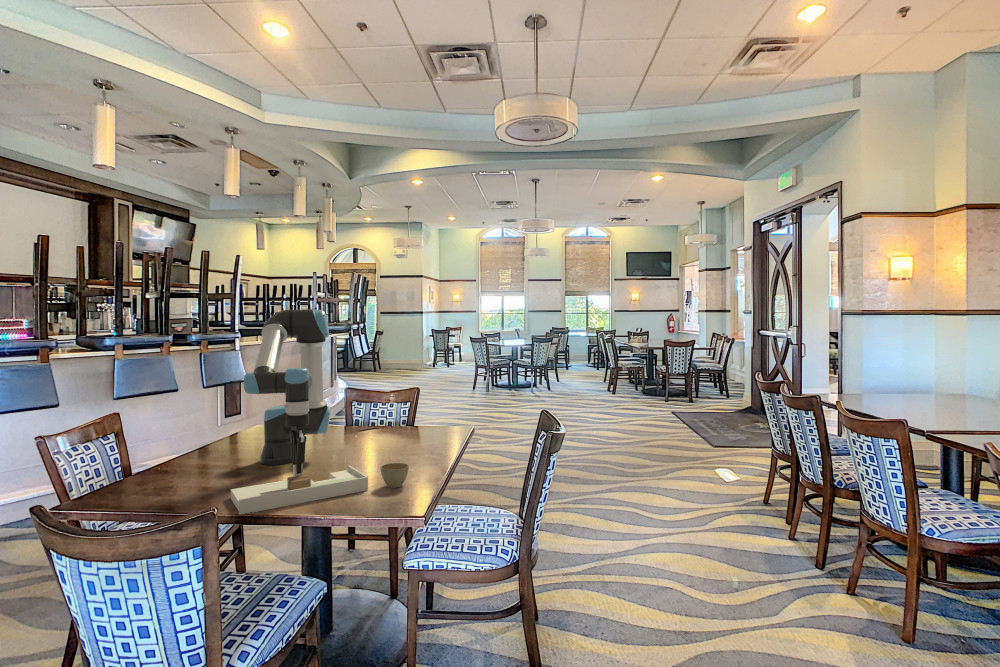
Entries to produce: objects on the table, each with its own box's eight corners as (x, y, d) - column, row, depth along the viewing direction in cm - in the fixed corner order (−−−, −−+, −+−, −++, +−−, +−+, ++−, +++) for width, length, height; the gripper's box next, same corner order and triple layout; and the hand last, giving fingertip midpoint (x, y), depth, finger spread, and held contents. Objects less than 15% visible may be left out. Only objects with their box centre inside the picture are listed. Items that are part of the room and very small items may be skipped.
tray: (229, 498, 177) (229, 485, 177) (350, 477, 201) (350, 465, 201) (239, 514, 162) (239, 500, 162) (368, 489, 185) (368, 477, 185)
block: (287, 487, 178) (287, 477, 178) (305, 484, 182) (305, 474, 182) (292, 492, 174) (291, 482, 173) (310, 489, 177) (310, 478, 177)
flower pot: (413, 483, 193) (413, 463, 193) (400, 491, 183) (399, 471, 183) (389, 480, 196) (389, 461, 196) (375, 488, 187) (374, 468, 187)
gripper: (281, 412, 184) (281, 479, 184) (290, 417, 173) (291, 489, 174) (303, 409, 188) (304, 475, 189) (314, 414, 178) (314, 484, 178)
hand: (298, 482), depth 181 cm, fingers closed
